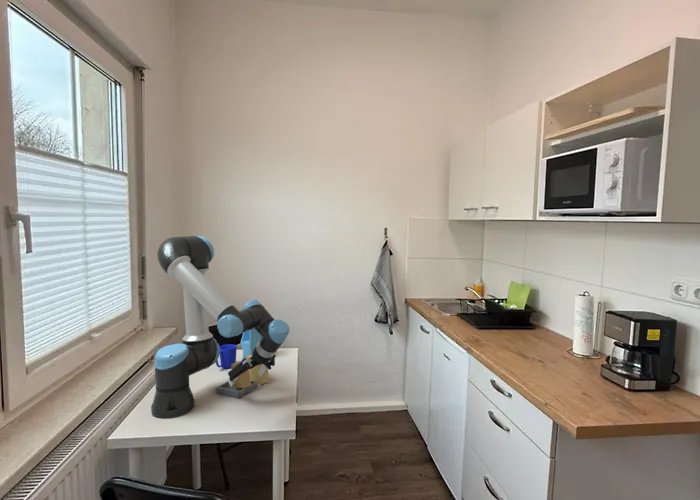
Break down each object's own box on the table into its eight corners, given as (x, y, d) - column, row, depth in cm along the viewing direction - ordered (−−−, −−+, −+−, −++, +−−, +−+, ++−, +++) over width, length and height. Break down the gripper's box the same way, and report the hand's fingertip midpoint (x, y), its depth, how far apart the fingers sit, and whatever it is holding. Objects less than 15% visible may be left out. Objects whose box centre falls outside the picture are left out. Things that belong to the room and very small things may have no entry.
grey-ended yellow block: (268, 383, 182) (268, 360, 181) (261, 385, 179) (261, 362, 178) (253, 375, 190) (253, 353, 190) (246, 377, 188) (246, 355, 187)
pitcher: (241, 360, 211) (240, 321, 210) (253, 356, 217) (253, 318, 216) (250, 363, 206) (249, 324, 205) (263, 359, 212) (262, 321, 211)
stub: (251, 385, 172) (246, 361, 173) (244, 388, 169) (239, 363, 170) (242, 385, 176) (238, 361, 177) (235, 388, 174) (230, 364, 175)
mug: (209, 370, 197) (209, 350, 196) (228, 363, 207) (227, 343, 207) (222, 373, 193) (222, 352, 192) (240, 365, 204) (240, 345, 203)
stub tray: (238, 398, 166) (238, 392, 166) (216, 393, 171) (216, 387, 171) (258, 387, 177) (257, 381, 177) (236, 382, 182) (235, 377, 182)
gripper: (239, 367, 147) (220, 396, 159) (295, 351, 165) (274, 378, 176) (231, 349, 151) (213, 379, 162) (287, 335, 168) (267, 363, 180)
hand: (245, 378), depth 169 cm, fingers open, 13 cm apart
